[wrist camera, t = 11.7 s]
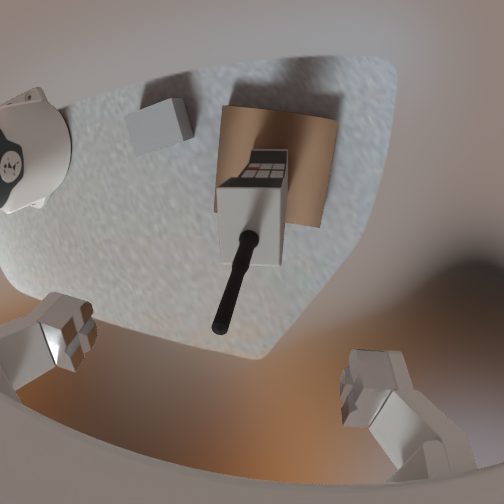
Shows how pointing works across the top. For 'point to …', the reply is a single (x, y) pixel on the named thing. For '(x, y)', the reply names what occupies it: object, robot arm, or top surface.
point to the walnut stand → (281, 137)
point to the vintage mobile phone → (251, 222)
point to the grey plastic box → (159, 126)
